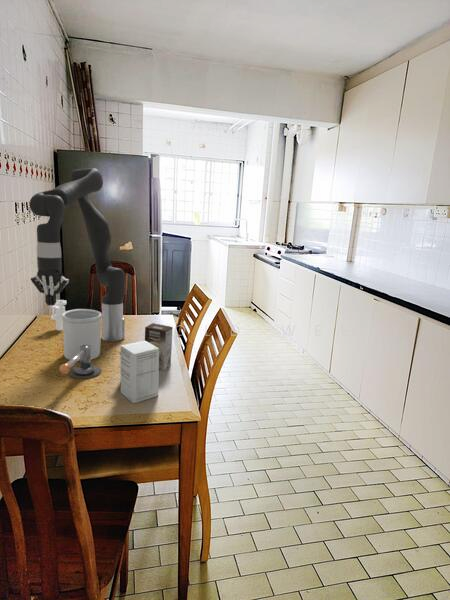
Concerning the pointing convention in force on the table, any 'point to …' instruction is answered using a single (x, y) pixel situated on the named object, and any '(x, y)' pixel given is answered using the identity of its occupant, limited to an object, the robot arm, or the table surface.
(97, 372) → the base plate
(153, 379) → the supplement box
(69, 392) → the table surface
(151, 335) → the coffee box
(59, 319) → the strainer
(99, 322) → the utensil holder
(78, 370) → the metal lever
